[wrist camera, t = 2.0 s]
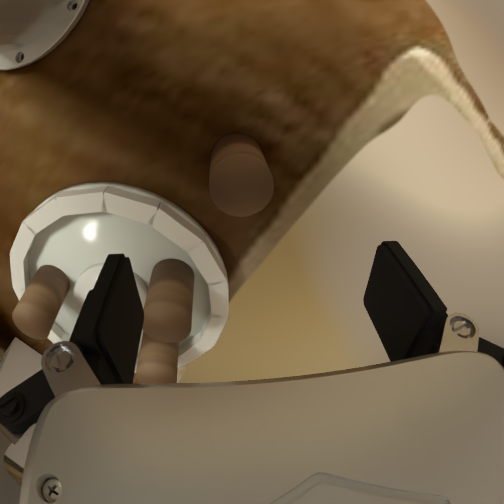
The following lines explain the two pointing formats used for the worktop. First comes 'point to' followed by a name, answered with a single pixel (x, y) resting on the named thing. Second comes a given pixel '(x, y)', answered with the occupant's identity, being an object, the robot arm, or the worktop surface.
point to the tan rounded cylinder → (239, 176)
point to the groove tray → (121, 241)
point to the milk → (18, 365)
